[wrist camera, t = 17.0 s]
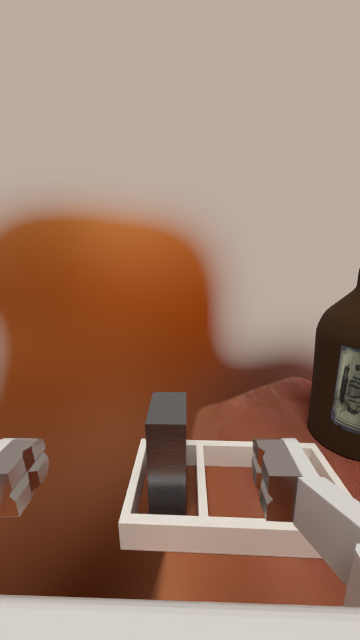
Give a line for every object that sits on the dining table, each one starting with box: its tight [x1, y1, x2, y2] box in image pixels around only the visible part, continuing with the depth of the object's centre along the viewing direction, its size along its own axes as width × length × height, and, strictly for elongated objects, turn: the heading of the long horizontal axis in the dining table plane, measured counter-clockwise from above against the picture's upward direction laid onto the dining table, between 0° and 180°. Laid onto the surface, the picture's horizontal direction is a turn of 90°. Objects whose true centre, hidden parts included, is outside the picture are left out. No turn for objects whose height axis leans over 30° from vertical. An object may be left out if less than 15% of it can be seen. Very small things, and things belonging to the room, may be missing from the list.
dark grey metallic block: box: [145, 392, 186, 516], centre depth 23 cm, size 4×5×11 cm
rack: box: [119, 439, 352, 558], centre depth 24 cm, size 21×10×3 cm, turn 88°
